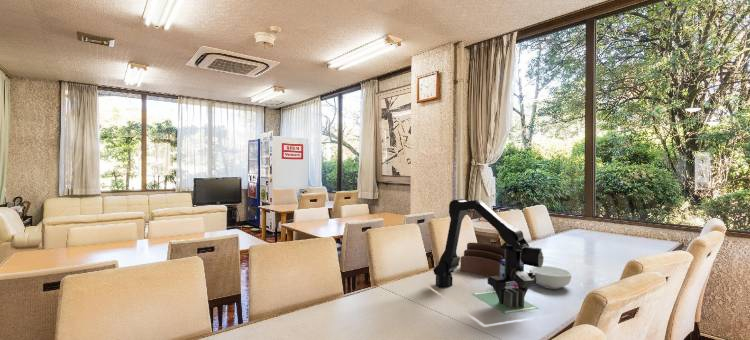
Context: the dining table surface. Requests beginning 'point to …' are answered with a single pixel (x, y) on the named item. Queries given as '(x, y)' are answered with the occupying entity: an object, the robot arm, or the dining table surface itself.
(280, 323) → the dining table surface
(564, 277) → the cereal bowl
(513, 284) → the ink cartridge box
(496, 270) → the letter holder
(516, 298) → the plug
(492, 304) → the board
